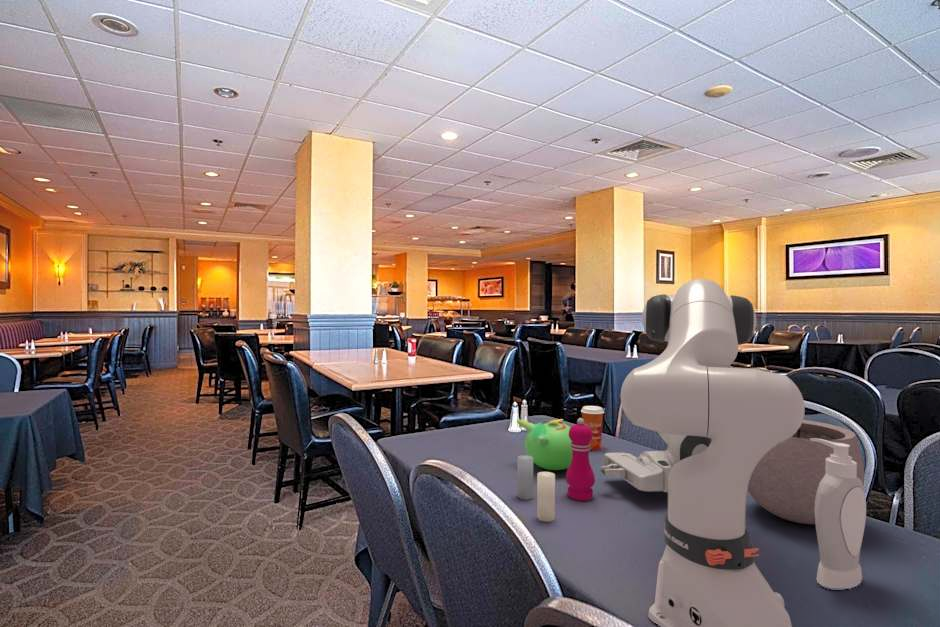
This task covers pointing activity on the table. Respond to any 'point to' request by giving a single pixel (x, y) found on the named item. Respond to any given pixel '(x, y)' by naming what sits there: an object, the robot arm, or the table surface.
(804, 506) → the plant pot
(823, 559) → the soap bottle
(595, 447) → the paper cup
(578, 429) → the pepper mill
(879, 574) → the table surface
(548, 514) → the cream post
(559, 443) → the toy bird
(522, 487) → the slate post
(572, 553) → the table surface
